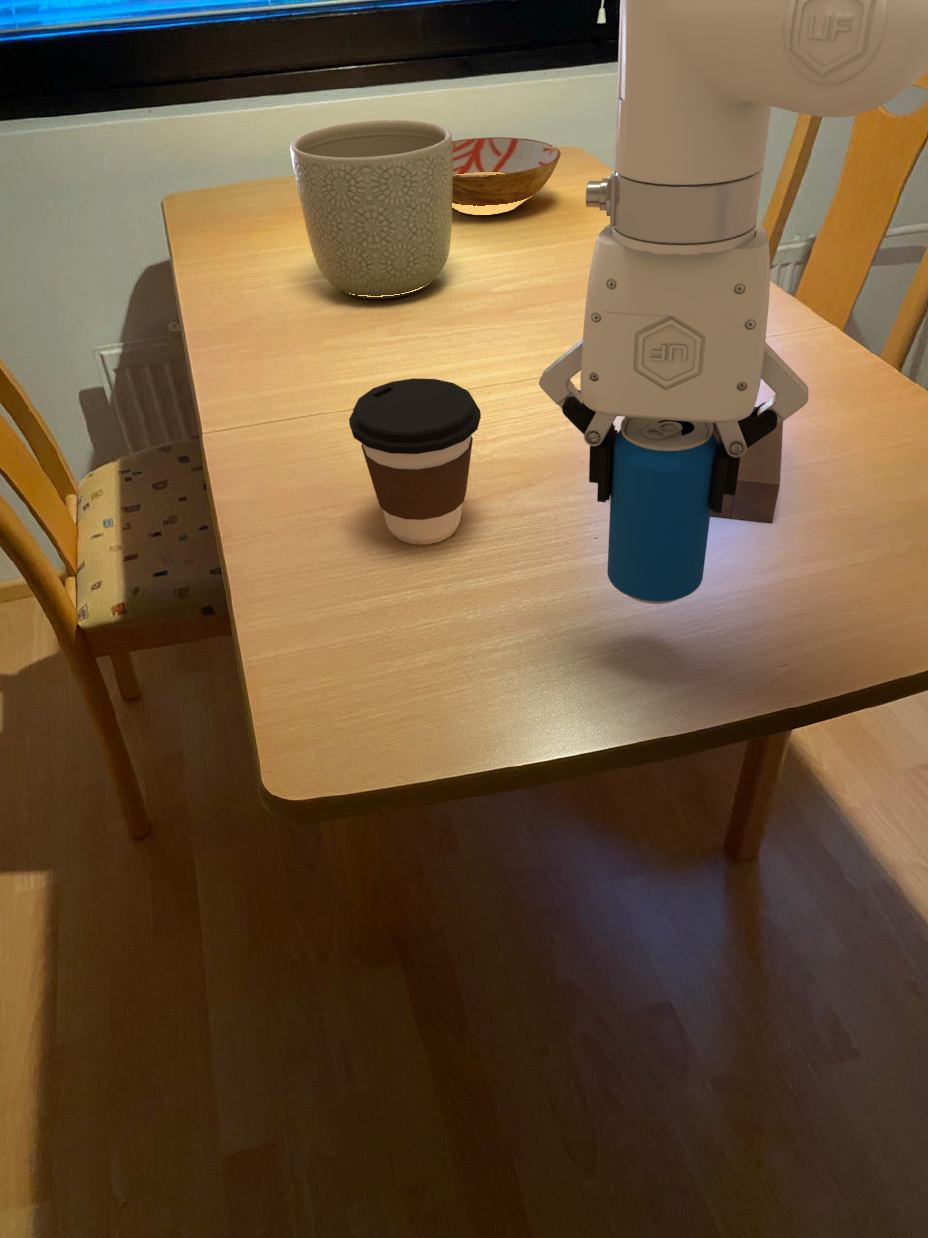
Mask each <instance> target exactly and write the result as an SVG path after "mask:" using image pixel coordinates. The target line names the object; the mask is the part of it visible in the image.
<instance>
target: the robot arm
mask: <svg viewBox="0 0 928 1238" xmlns="http://www.w3.org/2000/svg"><path fill="white" fill-rule="evenodd" d="M618 25H619V27H618V56H617V57H618V58H617V61H618V62H617V83H616V84H617V85H616V109H615V110H616V111H615V139H614V140H615V142H614V165H613V166H614V170H613V171H612V172H610V173H609V176H608V177H602V178H601V180H588V181H587V183H586V188H585V189H586V190H585V207H586V208H598V209H599V210H600V211H606V217H609V224H608V225H606V226H604V227H603V228H602V229H601V231H600V232H599V233H598V234H597V236H596V240H595V244H594V248H593V253H592V259H591V264H590V269H589V276H588V282H587V291H586V298H585V308H584V309H585V310H584V320H583V330H582V331H583V332H582V333H583V334H582V338H581V339H580V340H578V341H577V342H576V343H574V345H572V346H571V347H569V348H568V349H567V350H566V351H565V352H564V353H563V354H562V355H561V356H559V357H558V358H557V359H556V360H554V361H553V362H552V363H551V364H549V366H547V367H546V368H545V369H544V370H543V372H542V373H541V376H540V378H539V381H538V384H539V387H540V388H541V390H542V391H543V392H544V393H545V394H546V395H547V396H548V397H549V398H550V400H552V402H554V404H555V405H556V406H558V407H559V408H561V411H562V414H563V415H564V417H566V419H567V420H569V422H571V424H573V426H574V427H575V428H576V429H577V430H578V431H579V432H580V433H581V434H582V435H583V440H584V442H585V443H586V445H588V446H589V460H588V461H589V466H588V482H589V483H593V484H597V492H596V493H597V497H596V499H597V500H596V501H597V502H598V503H599V502H600V503H606V502H607V501H610V499H611V477H612V453H613V441H614V438H615V436H616V434H617V433H618V432H619V430H618V429H616V425H614V422H615V420H616V418H617V417H623V418H625V417H636V418H649V419H663V420H677V421H692V422H709V423H716V426H717V428H718V431H719V433H720V436H721V438H719V443H718V449H717V456H716V463H715V471H714V479H713V488H712V496H711V504H710V510H713V513H721V510H722V502H723V495H735V492H736V485H737V478H738V471H739V464H740V457H741V456H743V455H744V454H745V453H746V451H747V448H749V447H750V446H752V445H753V444H754V443H756V442H757V441H759V440H760V439H762V438H763V437H764V436H766V435H767V434H769V433H770V432H772V431H773V430H774V429H775V428H776V426H777V425H778V424H779V423H780V422H782V421H783V422H784V421H786V420H787V419H789V418H790V417H792V416H793V415H794V414H795V413H797V412H798V411H799V410H801V409H802V408H803V407H805V406H806V404H808V401H809V386H808V385H807V383H805V381H804V380H802V379H801V377H800V376H799V375H798V374H797V373H796V372H795V371H794V370H793V369H792V368H791V366H789V365H788V364H787V363H786V362H785V360H783V358H782V357H781V356H780V355H779V354H778V353H777V352H776V351H775V350H774V349H773V348H772V347H771V346H770V345H769V344H768V343H767V342H766V338H767V327H768V316H769V305H770V289H771V257H770V255H771V254H770V243H769V236H768V232H767V229H766V228H765V227H764V226H763V225H761V224H759V223H757V218H758V211H759V204H760V203H759V202H760V194H761V187H762V180H763V173H764V165H765V158H766V151H767V143H768V135H769V128H770V119H771V112H772V111H771V110H772V107H773V108H776V109H779V110H780V109H781V110H785V111H788V112H793V113H798V114H802V115H808V116H814V117H821V118H846V117H854V116H859V115H863V114H865V113H868V112H871V111H874V110H876V109H878V108H880V107H883V106H884V105H886V104H888V103H889V102H891V101H893V100H894V99H896V98H897V97H898V96H899V95H901V94H902V93H904V92H905V91H906V90H908V88H910V87H911V86H912V85H914V84H915V83H916V82H917V81H918V80H920V79H921V78H922V77H923V76H924V75H926V74H927V73H928V0H619V24H618ZM579 372H580V381H579V383H580V385H579V386H580V389H577V388H576V386H575V384H574V382H573V381H572V378H573V377H574V376H575V375H577V374H578V373H579ZM761 380H762V381H763V382H764V383H765V384H766V385H767V386H768V387H769V388H770V389H771V390H772V391H773V393H775V394H774V395H772V396H771V398H770V399H769V400H767V401H764V402H763V403H761V404H759V405H757V406H756V404H757V401H758V396H759V391H760V386H761ZM754 407H756V408H755V409H754ZM753 409H754V410H753Z"/></svg>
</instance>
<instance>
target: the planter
mask: <svg viewBox="0 0 928 1238" xmlns="http://www.w3.org/2000/svg"><path fill="white" fill-rule="evenodd" d="M452 141H453V139H452V132H451V131H450V130H449V129H448V128H446V127H445V126H442V125H440V124H437V123H432V122H427V121H426V122H425V121H419V120H407V119H379V120H378V119H377V120H364V121H363V120H362V121H355V122H347V123H340V124H334V125H330V126H329V125H328V126H325V127H320V128H317V129H314V130H310V131H308V132H305V133H303V134H301V135H299V136H296V137H295V138H294V139H293V140H292V141H291V142H290V145H289V147H290V155H291V162H292V167H293V173H294V178H295V184H296V188H297V193H298V197H299V203H300V206H301V212H302V215H303V221H304V225H305V230H306V233H307V234H306V235H307V238H308V241H309V245H310V249H311V252H312V255H313V258H314V261H315V264H316V266H317V269H318V270H319V272H320V274H321V275H322V277H323V278H325V280H327V281H328V282H329V283H330V284H331V285H332V286H333V287H334V288H336V289H338V290H339V291H341V290H342V291H341V292H343V291H344V292H343V293H344V294H346V295H350V296H352V297H356V298H360V299H367V300H385V299H395V298H401V297H405V296H409V295H412V294H415V293H417V292H419V291H421V290H423V289H424V288H426V287H427V286H429V285H430V284H431V283H432V282H433V281H435V280H436V279H437V277H438V276H439V275H440V274H441V272H442V271H443V269H444V268H445V266H446V263H447V261H448V258H449V255H450V249H451V240H452V224H453V223H452V222H453V220H452V219H453V209H452V190H453V157H452ZM431 281H432V282H431ZM430 282H431V283H430ZM428 283H430V284H428ZM427 284H428V285H427ZM425 285H427V286H425ZM423 286H425V287H423ZM420 287H423V288H421V289H419V290H416V291H413V292H409V291H412V290H415V289H418V288H420ZM346 292H347V293H346ZM405 292H409V293H405ZM349 293H351V294H349ZM401 293H405V294H401ZM352 294H355V295H352ZM394 294H400V295H394ZM358 295H368V296H369V295H370V296H381V295H394V296H383V297H367V296H358Z"/></svg>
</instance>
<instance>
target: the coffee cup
mask: <svg viewBox="0 0 928 1238" xmlns="http://www.w3.org/2000/svg"><path fill="white" fill-rule="evenodd" d="M481 418H482V415H481V409H480V408H479V406H478V404H477V402H476V400H475V399H474V398H473V396H472V395H471V392H470V391H469V390H467V389H465V388H463V387H462V386H459V385H458V384H456V383H455V382H452V381H445V380H441V379H437V378H416V377H415V378H407V379H399V380H394V381H390V382H387V383H384V384H381V385H378V386H376V387H373V388H372V389H370V390H368V391H367V392H366V393H364V394H363V395H361V396H360V397H358V399H357V401H356V402H355V405H354V407H353V408H352V413H351V415H350V416H349V418H348V421H349V423H348V424H349V429H350V431H351V434H352V437H353V438H354V439H355V440H356V441H358V442H359V443H361V446H360V447H361V449H362V453H363V456H364V459H365V463H366V466H367V469H368V473H369V477H370V480H371V483H372V487H373V489H374V492H375V496H376V499H377V502H378V504H379V507H380V509H382V512H383V516H384V519H385V522H386V525H387V528H388V530H389V531H390V532H391V534H392V535H393V536H394V537H396V538H397V539H398V540H399V541H401V542H404V543H407V544H411V545H420V546H421V545H422V546H426V545H432V544H437V543H440V542H442V541H444V540H447V539H449V538H450V537H451V536H452V535H453V534H454V533H455V532H456V531H457V529H458V527H459V525H460V523H461V518H462V512H463V504H464V502H465V498H466V494H467V489H468V480H469V472H470V466H471V465H470V464H471V457H472V448H473V442H474V439H473V436H472V435H473V434H475V432H477V430H478V429H479V425H480V421H481Z"/></svg>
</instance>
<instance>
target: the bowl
mask: <svg viewBox="0 0 928 1238" xmlns="http://www.w3.org/2000/svg"><path fill="white" fill-rule="evenodd" d="M561 155H562V152H561V151H560V149H559V148H558V147H556V146H555V145H552V144H550V143H548V142H543V141H540V140H536V139H529V138H520V137H506V136H505V137H503V136H501V137H500V136H498V137H497V136H496V137H474V138H465V139H464V138H463V139H457V140H452V157H453V190H452V203H455V204H461V205H473V206H476V205H477V206H485V205H499V204H508V203H513V202H517V201H521V200H524V199H527V198H529V197H531V196H533V195H534V196H536V195H537V194H538V193H539V191H540V190H541V189H542V188H543V187H544V186H545V185H546V183H547V182H548V181H549V179H550V178H551V176H552V175H553V173H554V171H555V169H556V167H557V165H558V162H559V160H560V157H561ZM474 172H501V173H502V172H503V173H505V174H496V175H456V174H464V173H474ZM537 192H538V193H537ZM536 193H537V194H536ZM534 196H533V197H534Z"/></svg>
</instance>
